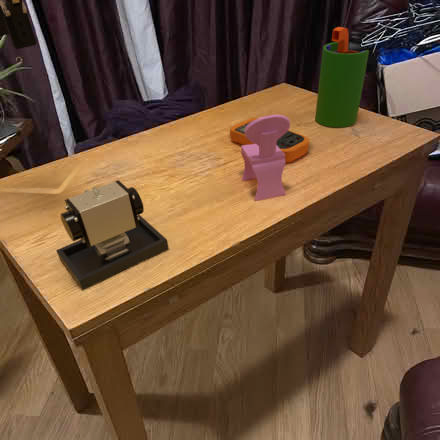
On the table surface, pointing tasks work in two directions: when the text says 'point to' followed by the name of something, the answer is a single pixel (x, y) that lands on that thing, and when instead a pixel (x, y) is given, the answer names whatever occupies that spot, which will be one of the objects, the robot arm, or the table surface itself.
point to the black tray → (102, 269)
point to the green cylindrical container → (340, 82)
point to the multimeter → (287, 143)
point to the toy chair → (265, 155)
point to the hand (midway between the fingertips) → (15, 40)
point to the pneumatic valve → (103, 218)
